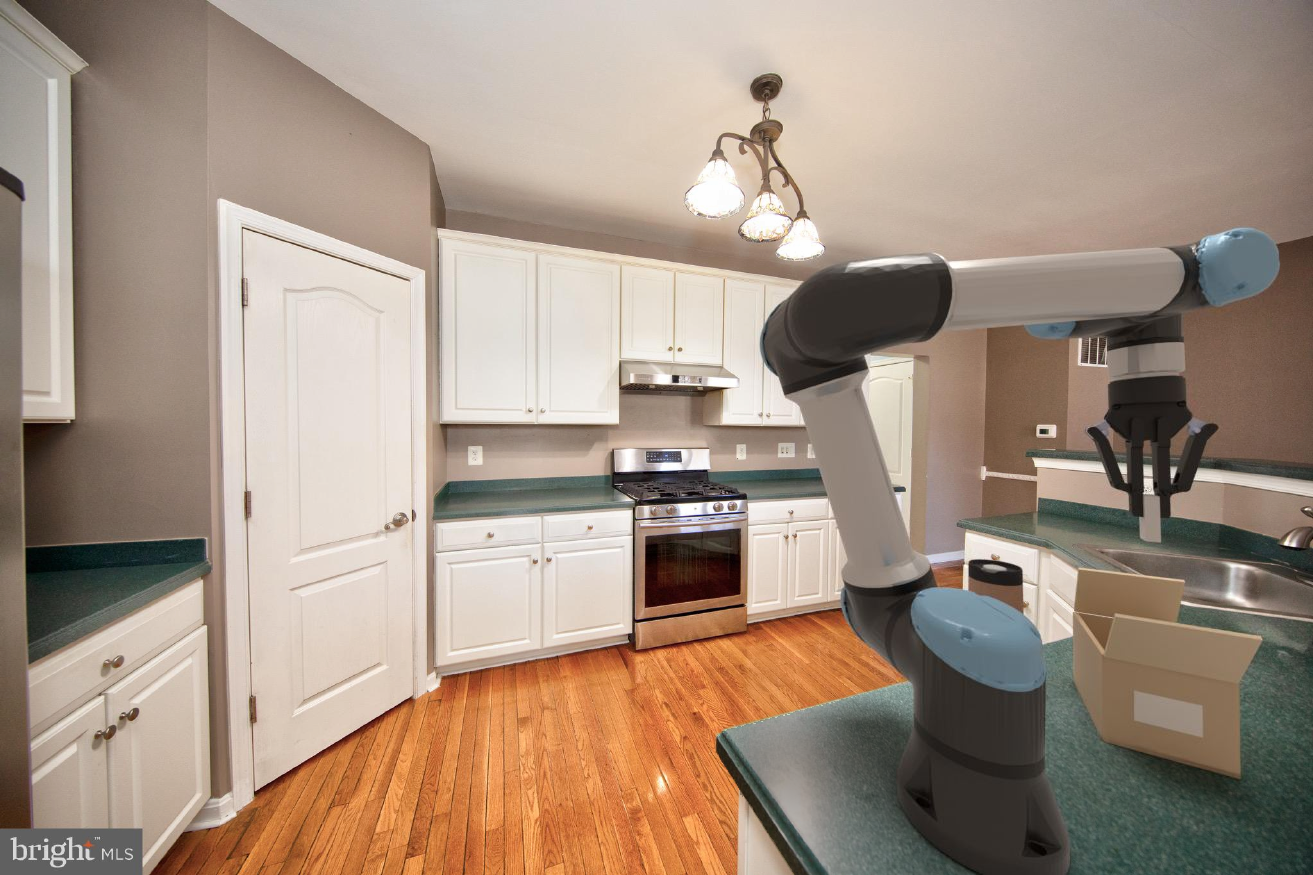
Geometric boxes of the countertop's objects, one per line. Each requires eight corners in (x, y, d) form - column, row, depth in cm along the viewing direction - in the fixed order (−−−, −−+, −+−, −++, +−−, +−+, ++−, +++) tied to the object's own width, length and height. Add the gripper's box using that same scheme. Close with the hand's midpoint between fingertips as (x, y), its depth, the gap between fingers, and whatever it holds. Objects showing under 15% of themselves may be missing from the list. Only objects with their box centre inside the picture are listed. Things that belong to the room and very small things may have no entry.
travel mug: (1004, 669, 79) (1002, 559, 79) (1036, 694, 71) (1035, 572, 71) (959, 667, 79) (958, 558, 80) (986, 691, 72) (985, 570, 72)
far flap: (1074, 611, 75) (1073, 609, 75) (1175, 627, 68) (1174, 625, 69) (1079, 569, 72) (1078, 567, 72) (1185, 582, 65) (1183, 579, 65)
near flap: (1236, 679, 53) (1238, 683, 53) (1103, 653, 60) (1104, 657, 60) (1260, 636, 49) (1262, 640, 49) (1114, 613, 56) (1115, 616, 55)
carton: (1241, 779, 53) (1239, 681, 53) (1103, 741, 60) (1102, 654, 60) (1178, 705, 68) (1177, 628, 68) (1073, 681, 75) (1072, 611, 75)
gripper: (1203, 375, 62) (1209, 540, 62) (1078, 384, 70) (1082, 530, 70) (1228, 369, 56) (1234, 551, 56) (1087, 379, 64) (1092, 540, 64)
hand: (1150, 539), depth 63 cm, fingers closed
